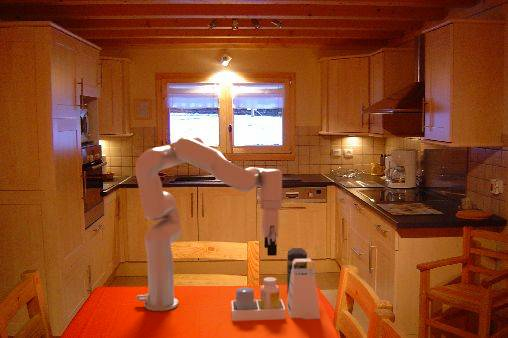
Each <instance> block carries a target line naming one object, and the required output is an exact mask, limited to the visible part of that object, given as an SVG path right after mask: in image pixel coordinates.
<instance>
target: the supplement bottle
mask: <svg viewBox="0 0 508 338" xmlns="http://www.w3.org/2000/svg"><path fill="white" fill-rule="evenodd" d="M262 281H263V285H261V287H260V300H261V310H265V309H279V299H280V287H279V286H278V285H277V282H278V281H277V278H275V277H271V276H268V277H265V278H263V280H262Z"/></svg>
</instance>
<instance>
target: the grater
mask: <svg viewBox="0 0 508 338" xmlns="http://www.w3.org/2000/svg"><path fill="white" fill-rule="evenodd" d="M296 262H307V263H308V262H309V263H310V262H312V264H311V267H310V268H309V267H307V268H302V269H294V264H295V263H296ZM296 273H297V275H295V274H296ZM299 273H300V275H298V274H299ZM302 273H303V274H305V273H307V275H301V274H302ZM317 287H318V286H317V278H316V274H315V263H314V262H313V260H312V259H311V258H307V259H294V260H293V261H292V269H291V276H290V283H289V291H288V293H287V298H286V299H287V300H286V305H285V307H286V309H287V310H286V311H287V312H288V315H289V317H290V319H299V318H302V320H319V319H320V318H321V315H320V307H319V298H318V297H319V296H318V289H317Z"/></svg>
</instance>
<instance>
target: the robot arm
mask: <svg viewBox="0 0 508 338" xmlns="http://www.w3.org/2000/svg"><path fill="white" fill-rule="evenodd" d="M183 163H188V164H189V165H192V166H195V167H197V168H199V169H201V170H204V171H205V172H207V173H210V175H212V176H213V177H215V178H216V179H217V180H218V181H220V182H222V183H223V184H225V185H227V186H230V187H232V188H235V190H239V191H241V192H250V191H253V190H254V189H256V188H260V194H259V195H260V198H259V199H260V205H259V207H260V210H262V215H261V216H262V218H261V233H262V236H263V238H264V242H263V243H264V244H263V245H264V248H265V249H267V254H266V255H267V256H268V257H271V256H274V257H275V256H277V253H278V249H277V248H278V244H277V238H278V235H279V210H281V209H283V208H282V205H283V203H282V202H283V198H282V197H283V172H282V170H280V169H279V168H261V167H254V166H250V167H247V168H243V167H240V166H238V165H236V164H234V163H232V162H231V161H229V160H227V159H226V158H225V156H224V155H223V153H222V152H221V151H220V150H218V149H215V148H213V147H211V146H209V145H207V144H205V143H204V141H203V140H202V139H201V138H200V137H198V136H195V135H188V136H183V137H181V138H179V139H177V141H175V142H173V143H169V144H166V145H163V146H156V147H152V148H149V149H147V150H146V151H143V152H142V154H141V155H140V156H139V157H138V158H137V160H136V162H135V166H134V167H135V168H134V169H135V171H134V172H135V177H136V180H137V185H138V191H139V196H140V202H141V207H142V212H143V215H144V217H145V218H146V219H147V220H148V221H155V222H156V223H154V224H152V225H151V226H150V227H149V228H148V229H147V230H146V233H145V234H144V243H145V244H144V245H145V249H146V256H147V282H148V283H147V288H148V291H147V292H148V293H145V294H136V301H138V302H144V308H145V309H146V310H148V311H151V312H152V311H153V312H166V311H170V310H173V309H175V308H176V307H177V306H179V300H178V299H177V298H175V284H174V283H175V282H174V281H175V280H174V278H175V277H174V254H173V250H172V244H173V243H174V242H176V241H177V240H178V239H179V238H180V236H181V234H182V233H181V232H182V226H181V225H182V224H181V219H180V214H179V210H178V209H179V208H178V204H177V202H176V198H174V197H175V196H173V194H171V193H170V192H168V191H164V190H163V189H164V188H163V182H162V180H161V178H160V175H159V172H160V171H162V170H166V169H169V168H173V167H176V166H178V165H181V164H183Z"/></svg>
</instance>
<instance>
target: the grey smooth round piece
mask: <svg viewBox="0 0 508 338" xmlns="http://www.w3.org/2000/svg"><path fill="white" fill-rule="evenodd" d="M254 295H255V291H254V289H253V288H251V287H245V286H244V287H240V288H239V287H238V288H237V289H236V290H235V301H236V310H254V300H255V299H254V298H255V296H254Z"/></svg>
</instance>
